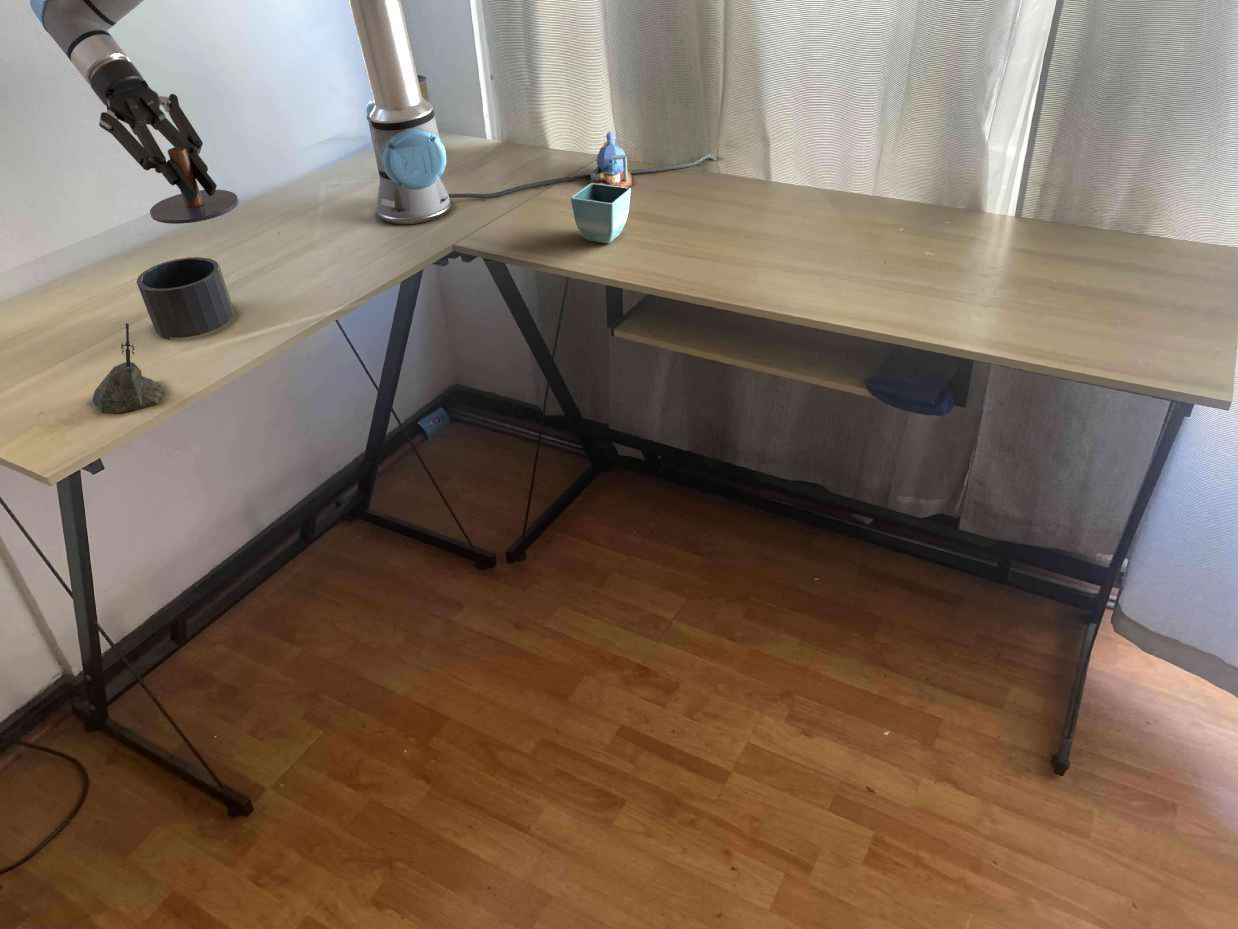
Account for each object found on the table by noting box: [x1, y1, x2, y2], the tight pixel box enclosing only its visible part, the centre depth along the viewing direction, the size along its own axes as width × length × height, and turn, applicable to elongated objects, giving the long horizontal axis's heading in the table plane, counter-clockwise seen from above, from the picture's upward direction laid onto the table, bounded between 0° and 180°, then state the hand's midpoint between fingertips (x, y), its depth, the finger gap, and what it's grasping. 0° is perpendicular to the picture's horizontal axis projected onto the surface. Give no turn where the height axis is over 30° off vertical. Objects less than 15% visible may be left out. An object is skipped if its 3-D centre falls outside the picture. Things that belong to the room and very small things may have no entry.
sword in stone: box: [92, 322, 164, 414], centre depth 134 cm, size 10×8×12 cm
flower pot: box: [570, 183, 632, 244], centre depth 175 cm, size 9×9×9 cm
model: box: [589, 131, 633, 188], centre depth 201 cm, size 12×9×9 cm
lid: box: [149, 147, 240, 225], centre depth 149 cm, size 14×14×10 cm
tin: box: [136, 256, 235, 341], centre depth 154 cm, size 13×13×9 cm
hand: (203, 194), depth 148 cm, fingers closed on lid, 3 cm apart
